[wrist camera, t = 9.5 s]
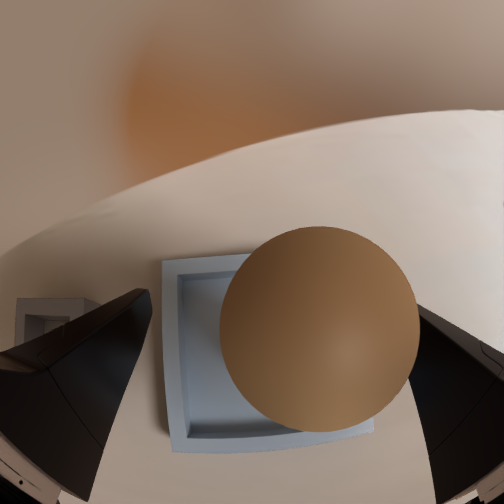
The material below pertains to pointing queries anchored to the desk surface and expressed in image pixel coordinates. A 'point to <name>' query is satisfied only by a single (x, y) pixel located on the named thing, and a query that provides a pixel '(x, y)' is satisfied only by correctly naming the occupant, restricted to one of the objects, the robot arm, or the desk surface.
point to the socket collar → (46, 314)
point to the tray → (214, 369)
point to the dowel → (319, 329)
